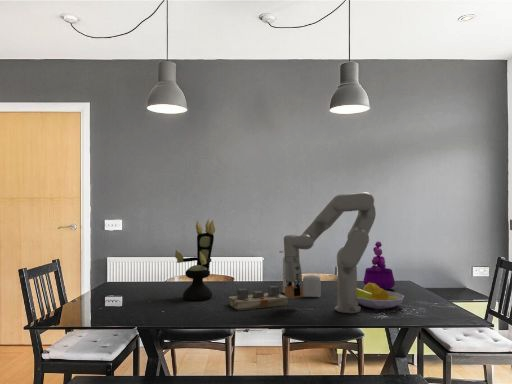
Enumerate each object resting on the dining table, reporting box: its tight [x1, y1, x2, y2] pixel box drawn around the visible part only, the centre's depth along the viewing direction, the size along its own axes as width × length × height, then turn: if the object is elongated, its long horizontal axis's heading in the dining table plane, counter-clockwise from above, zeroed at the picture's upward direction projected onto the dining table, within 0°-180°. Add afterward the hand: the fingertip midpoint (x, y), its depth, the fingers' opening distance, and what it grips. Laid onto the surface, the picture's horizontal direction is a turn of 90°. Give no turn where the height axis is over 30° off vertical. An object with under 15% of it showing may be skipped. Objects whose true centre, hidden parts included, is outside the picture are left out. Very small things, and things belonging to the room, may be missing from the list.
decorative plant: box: [363, 241, 396, 291], centre depth 252 cm, size 19×18×30 cm
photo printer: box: [302, 274, 322, 298], centre depth 233 cm, size 10×4×12 cm, turn 84°
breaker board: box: [228, 292, 289, 311], centre depth 213 cm, size 15×28×5 cm, turn 113°
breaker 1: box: [236, 288, 249, 300], centre depth 210 cm, size 4×4×6 cm
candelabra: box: [174, 218, 216, 302], centre depth 232 cm, size 19×22×45 cm
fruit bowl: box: [357, 282, 405, 310], centre depth 211 cm, size 28×27×11 cm
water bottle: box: [279, 250, 294, 294], centre depth 244 cm, size 9×6×25 cm
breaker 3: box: [267, 285, 280, 297], centre depth 217 cm, size 4×4×6 cm
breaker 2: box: [252, 290, 264, 299], centre depth 214 cm, size 4×4×6 cm
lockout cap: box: [284, 285, 304, 299], centre depth 205 cm, size 7×7×5 cm
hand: (293, 294), depth 205 cm, fingers closed on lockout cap, 6 cm apart
